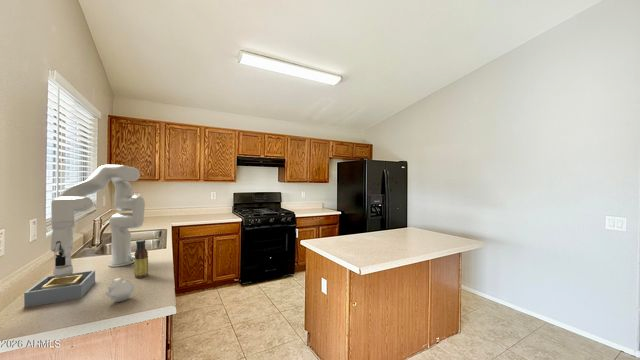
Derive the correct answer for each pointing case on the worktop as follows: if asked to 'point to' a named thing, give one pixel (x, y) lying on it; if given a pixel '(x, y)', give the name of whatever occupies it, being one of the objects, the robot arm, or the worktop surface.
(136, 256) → the sauce bottle
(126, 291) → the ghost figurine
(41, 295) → the walled box
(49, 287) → the olive square tray
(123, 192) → the robot arm
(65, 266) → the plastic bottle
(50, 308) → the worktop surface
